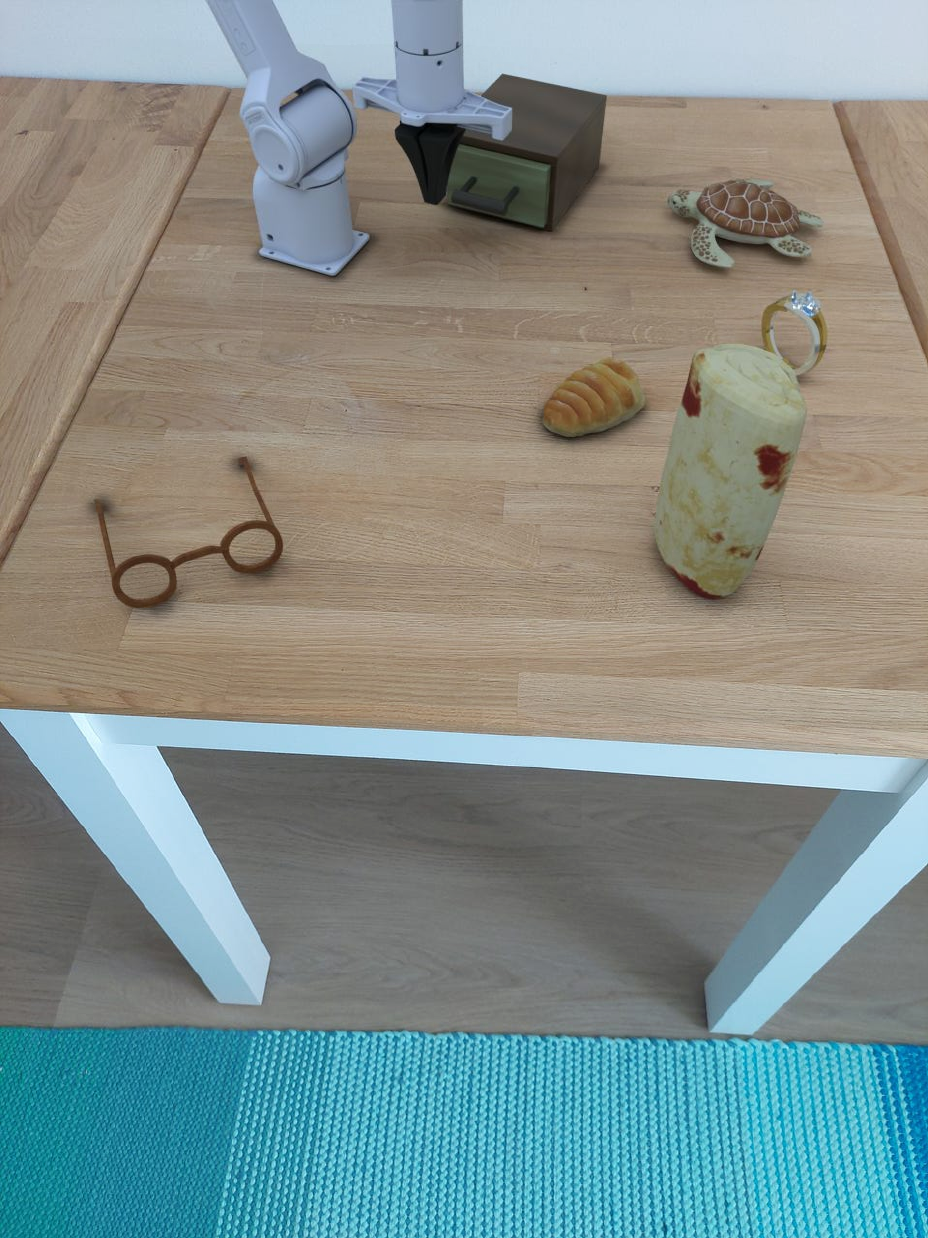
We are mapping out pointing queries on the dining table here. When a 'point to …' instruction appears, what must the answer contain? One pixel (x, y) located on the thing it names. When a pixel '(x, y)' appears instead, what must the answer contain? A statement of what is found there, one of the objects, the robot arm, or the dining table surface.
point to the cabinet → (548, 135)
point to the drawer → (500, 185)
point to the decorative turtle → (741, 219)
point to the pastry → (594, 399)
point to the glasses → (192, 552)
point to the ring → (808, 314)
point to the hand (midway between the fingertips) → (435, 198)
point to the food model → (727, 465)
